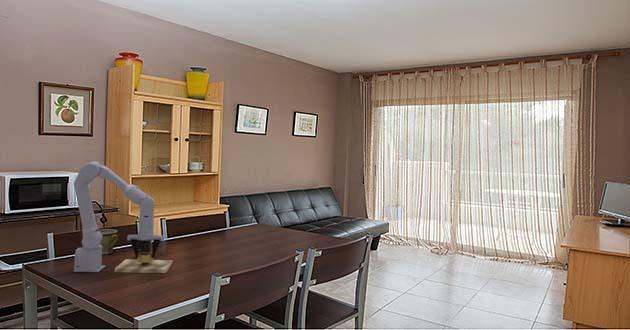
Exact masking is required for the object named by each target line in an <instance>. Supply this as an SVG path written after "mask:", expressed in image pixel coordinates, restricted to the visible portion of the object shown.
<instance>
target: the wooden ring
mask: <svg viewBox="0 0 630 330" xmlns="http://www.w3.org/2000/svg"><path fill="white" fill-rule="evenodd" d="M142 253H149V255H142ZM136 260H137V261H138V262H141V263H146V262H151V261H153V260H154V258H152V251H151V252H140V253H138V254H137V258H136Z"/></svg>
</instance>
